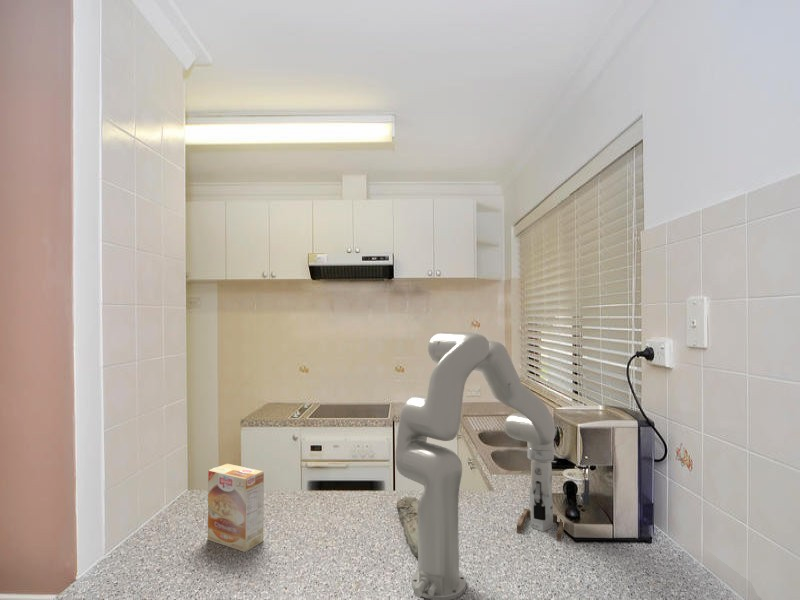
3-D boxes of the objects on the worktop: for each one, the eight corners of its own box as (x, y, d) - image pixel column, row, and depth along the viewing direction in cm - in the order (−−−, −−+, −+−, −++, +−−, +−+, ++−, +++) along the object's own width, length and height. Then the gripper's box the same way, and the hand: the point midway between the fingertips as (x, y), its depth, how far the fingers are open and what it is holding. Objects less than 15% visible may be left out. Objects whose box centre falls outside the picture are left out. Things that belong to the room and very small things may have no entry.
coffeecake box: (206, 540, 124) (207, 469, 125) (227, 529, 130) (227, 462, 131) (244, 553, 117) (245, 478, 118) (264, 541, 123) (264, 470, 124)
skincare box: (543, 532, 127) (543, 489, 128) (529, 527, 130) (529, 485, 131) (554, 525, 131) (553, 484, 132) (540, 520, 135) (539, 480, 135)
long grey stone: (407, 569, 112) (446, 568, 113) (409, 548, 112) (447, 547, 113) (392, 504, 146) (421, 504, 148) (393, 488, 146) (422, 488, 148)
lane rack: (560, 541, 122) (560, 534, 122) (516, 532, 127) (516, 525, 127) (565, 522, 133) (565, 515, 133) (524, 515, 138) (524, 508, 139)
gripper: (549, 463, 122) (551, 529, 122) (557, 447, 138) (558, 505, 137) (522, 460, 126) (523, 523, 125) (532, 444, 141) (533, 500, 140)
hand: (541, 513), depth 131 cm, fingers closed on skincare box, 6 cm apart
